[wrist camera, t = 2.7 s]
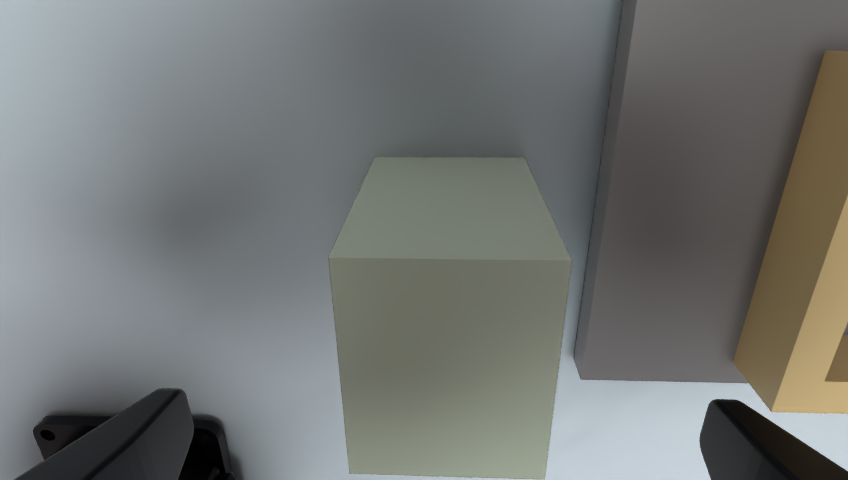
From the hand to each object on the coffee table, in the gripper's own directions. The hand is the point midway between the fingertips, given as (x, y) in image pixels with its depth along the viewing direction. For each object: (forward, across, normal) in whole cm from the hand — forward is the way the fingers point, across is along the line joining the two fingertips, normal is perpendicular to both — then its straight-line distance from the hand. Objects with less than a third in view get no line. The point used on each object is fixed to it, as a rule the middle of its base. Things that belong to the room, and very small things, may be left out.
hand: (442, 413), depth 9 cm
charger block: (+7, 0, 0) cm, 7 cm away
